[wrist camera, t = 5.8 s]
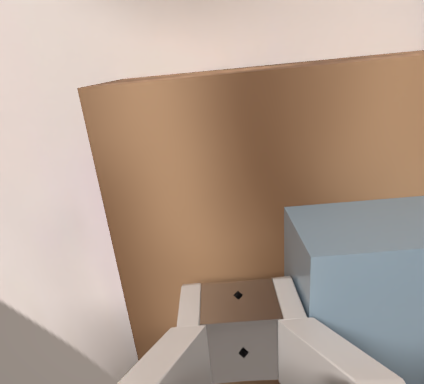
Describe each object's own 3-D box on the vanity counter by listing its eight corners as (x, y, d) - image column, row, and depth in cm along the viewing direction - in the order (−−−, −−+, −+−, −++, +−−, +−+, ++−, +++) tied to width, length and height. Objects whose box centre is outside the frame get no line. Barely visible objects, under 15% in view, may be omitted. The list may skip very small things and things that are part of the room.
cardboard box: (431, 49, 12) (553, 43, 8) (394, 318, 16) (460, 408, 12) (122, 79, 12) (77, 88, 8) (167, 336, 16) (154, 431, 12)
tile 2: (471, 191, 9) (564, 237, 7) (440, 336, 11) (505, 412, 8) (284, 207, 9) (310, 257, 7) (284, 348, 11) (305, 426, 9)
